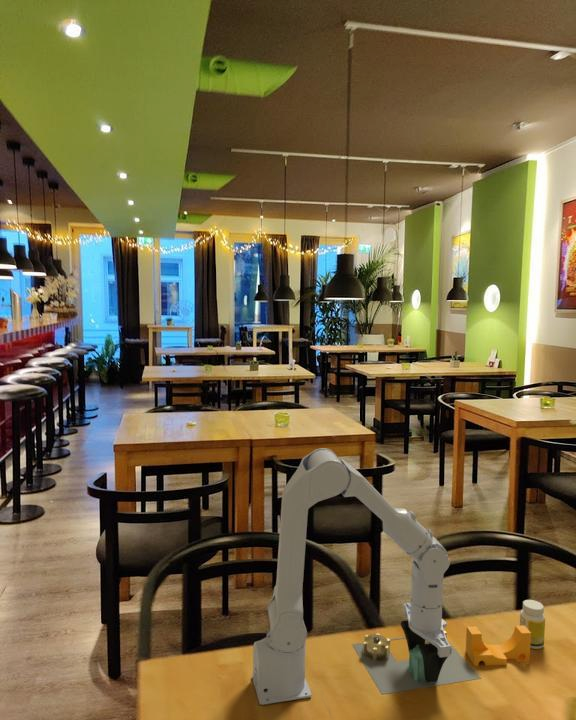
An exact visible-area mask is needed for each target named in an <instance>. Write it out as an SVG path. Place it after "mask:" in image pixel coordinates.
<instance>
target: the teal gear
mask: <svg viewBox="0 0 576 720" xmlns="http://www.w3.org/2000/svg"><path fill="white" fill-rule="evenodd" d="M408 655H409V658H408V660H409V672H411V674H412V676H413V677H414V680H416V681H418V680H420V681H423V682H427V681H426V679H425V674H424V662H423V657H422V654H421V651H420V649H419V645H416V647H414V648H413V649H412V650H410V653H409V652H408ZM428 683H432V682H428Z"/></svg>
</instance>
